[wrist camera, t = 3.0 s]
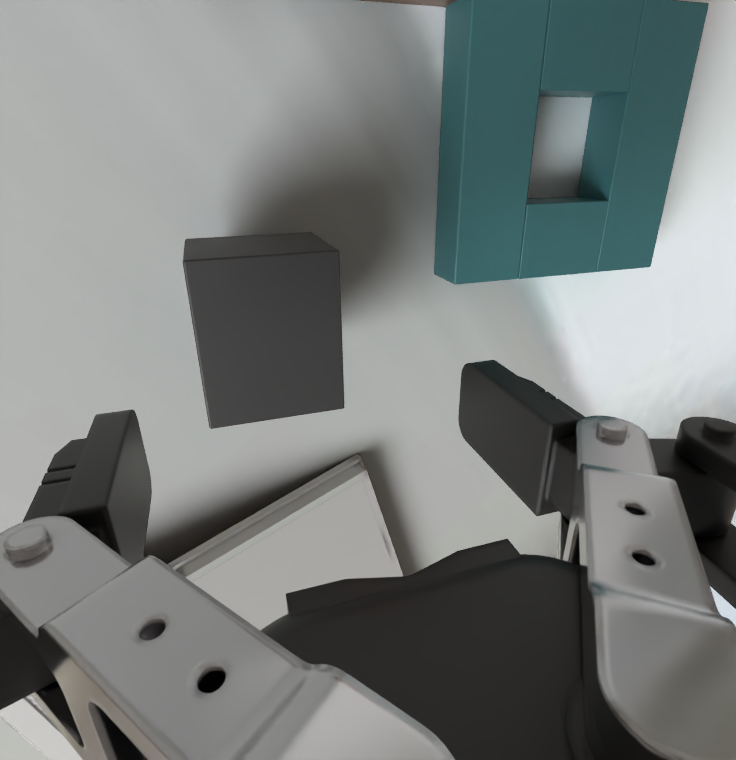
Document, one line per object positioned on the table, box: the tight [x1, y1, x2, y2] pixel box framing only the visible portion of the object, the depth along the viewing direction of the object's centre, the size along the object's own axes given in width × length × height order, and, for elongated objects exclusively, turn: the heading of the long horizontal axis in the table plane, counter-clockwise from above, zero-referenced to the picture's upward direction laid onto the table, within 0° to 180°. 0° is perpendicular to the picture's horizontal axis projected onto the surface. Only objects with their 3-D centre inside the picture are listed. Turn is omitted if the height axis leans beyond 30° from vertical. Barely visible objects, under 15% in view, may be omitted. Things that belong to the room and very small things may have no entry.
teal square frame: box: [434, 0, 708, 284], centre depth 24 cm, size 12×12×2 cm
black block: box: [183, 232, 344, 429], centre depth 20 cm, size 5×6×7 cm
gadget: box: [0, 454, 403, 760], centre depth 29 cm, size 23×15×4 cm, turn 106°
